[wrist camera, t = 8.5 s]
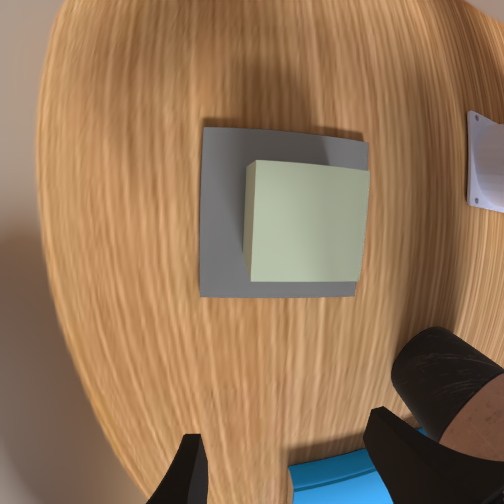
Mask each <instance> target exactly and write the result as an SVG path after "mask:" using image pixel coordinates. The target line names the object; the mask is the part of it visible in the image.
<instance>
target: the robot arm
mask: <svg viewBox="0 0 504 504" xmlns="http://www.w3.org/2000/svg"><path fill="white" fill-rule="evenodd" d="M467 120H468V148H469V162H468V189H467V203H468V205H470V206H475V207H480V208H485V209H489V210H494V211H499V212H503V213H504V124H497V123H496V122H494V121H492V120H490V119H488V118H486V117H484V116H482V115H480V114H478V113H476V112H474V111H468V113H467ZM363 440H364V443H365V446H366V449H367V452H368V454H369V457H370V459H371V461H372V463H373V464H374V466H375V468H376V470H377V472H378V474H379V475H380V477H381V479H382V481H383V483H384V485H385V486H386V488H387V490H388V492H389V494H390V497H391V499H392V502H393V504H504V500H503V499H504V493H503V492H504V461H493V460H487V459H482V458H477V457H473V456H470V455H467V454H464V453H461V452H458V451H455V450H453V449H450V448H448V447H446V446H444V445H442V444H440V443H438V442H436V441H434V440H432V439H430V438H429V437H427V436H425V435H424V434H422V433H420V432H419V431H417V430H416V429H414V428H413V427H411V426H410V425H409V424H407V423H406V422H404V421H403V420H402V419H400V418H399V417H397V416H396V415H395V414H393V413H392V412H391V411H389V410H388V409H387V408H385V407H384V406H382V407H379V408H375V409H371V413H370V416H369V420H368V423H367V426H366V430H365V433H364V436H363ZM207 494H208V460H207V457H206V453H205V449H204V445H203V442H202V438H201V434H185V435H183V438H182V441H181V444H180V446H179V449H178V451H177V453H176V455H175V457H174V460H173V462H172V463H171V465H170V467H169V469H168V471H167V473H166V475H165V476H164V478H163V480H162V481H161V483H160V484H159V486H158V488H157V489H156V491H155V492H154V493H153V495H152V496H151V498H150V499H149V500H148V501H147V503H146V504H207Z"/></svg>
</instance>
